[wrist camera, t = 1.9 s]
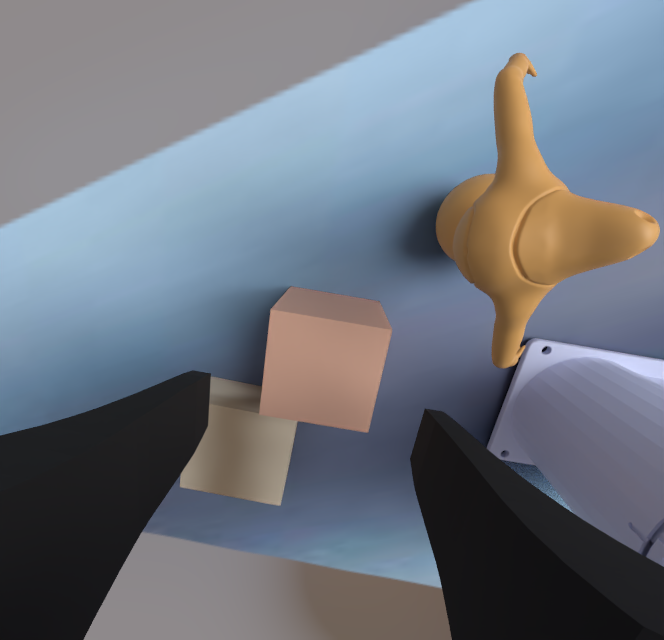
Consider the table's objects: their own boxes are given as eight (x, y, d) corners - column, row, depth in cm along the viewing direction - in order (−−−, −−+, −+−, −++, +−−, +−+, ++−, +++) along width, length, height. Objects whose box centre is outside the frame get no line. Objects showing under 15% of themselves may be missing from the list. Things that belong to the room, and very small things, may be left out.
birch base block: (303, 392, 20) (296, 420, 17) (288, 468, 21) (280, 506, 18) (209, 373, 19) (185, 399, 16) (202, 451, 21) (179, 487, 18)
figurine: (504, 296, 17) (840, 447, 5) (393, 310, 17) (488, 476, 6) (507, 124, 15) (1115, -247, 3) (379, 145, 15) (491, -109, 4)
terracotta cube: (379, 301, 17) (392, 330, 13) (362, 379, 19) (367, 432, 14) (291, 285, 17) (270, 309, 13) (280, 366, 19) (258, 414, 14)
